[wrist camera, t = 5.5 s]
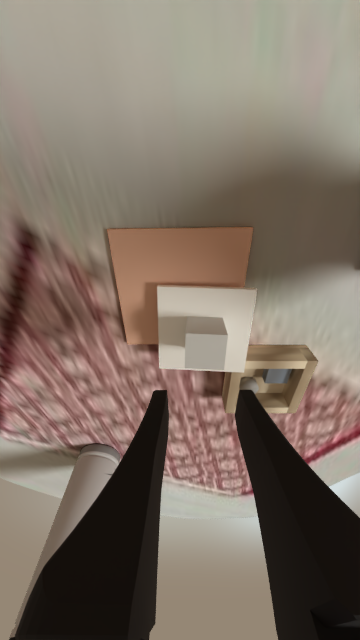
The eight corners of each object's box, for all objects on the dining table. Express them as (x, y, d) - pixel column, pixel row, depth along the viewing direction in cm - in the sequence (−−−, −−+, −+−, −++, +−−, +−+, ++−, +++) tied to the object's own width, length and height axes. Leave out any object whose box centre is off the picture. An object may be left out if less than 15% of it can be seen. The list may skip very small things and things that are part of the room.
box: (306, 345, 22) (318, 361, 20) (286, 395, 27) (295, 413, 25) (229, 345, 23) (233, 361, 21) (221, 395, 27) (225, 412, 25)
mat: (252, 227, 16) (253, 228, 16) (234, 341, 22) (235, 343, 22) (108, 228, 17) (106, 229, 16) (128, 341, 22) (127, 344, 22)
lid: (253, 285, 18) (270, 302, 14) (240, 364, 22) (252, 397, 17) (159, 282, 19) (149, 298, 15) (161, 360, 22) (153, 391, 18)
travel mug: (127, 449, 34) (73, 713, 17) (111, 466, 37) (51, 705, 20) (89, 437, 32) (-13, 718, 15) (75, 456, 35) (-24, 708, 18)
